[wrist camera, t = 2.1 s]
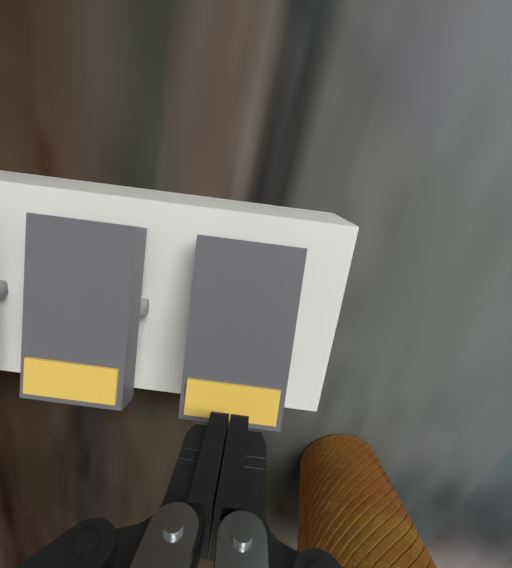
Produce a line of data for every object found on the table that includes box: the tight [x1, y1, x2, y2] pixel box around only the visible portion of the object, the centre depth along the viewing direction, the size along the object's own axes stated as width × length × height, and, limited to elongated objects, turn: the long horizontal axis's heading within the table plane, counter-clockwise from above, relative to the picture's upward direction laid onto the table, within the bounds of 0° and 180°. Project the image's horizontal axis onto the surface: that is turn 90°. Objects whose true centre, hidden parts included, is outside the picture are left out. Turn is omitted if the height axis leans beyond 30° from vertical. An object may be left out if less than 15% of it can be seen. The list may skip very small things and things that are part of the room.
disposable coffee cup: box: [297, 435, 437, 568], centre depth 20 cm, size 10×10×12 cm
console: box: [0, 170, 359, 411], centre depth 18 cm, size 10×23×7 cm, turn 83°
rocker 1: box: [20, 212, 147, 411], centre depth 13 cm, size 8×4×1 cm, turn 173°
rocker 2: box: [178, 234, 307, 432], centre depth 13 cm, size 8×4×1 cm, turn 173°
